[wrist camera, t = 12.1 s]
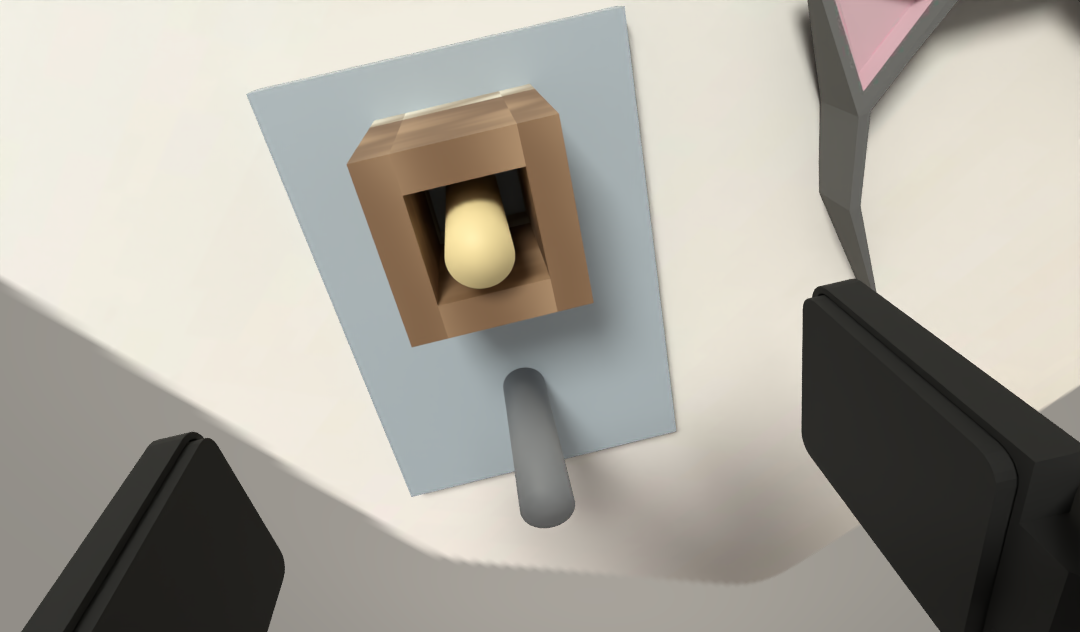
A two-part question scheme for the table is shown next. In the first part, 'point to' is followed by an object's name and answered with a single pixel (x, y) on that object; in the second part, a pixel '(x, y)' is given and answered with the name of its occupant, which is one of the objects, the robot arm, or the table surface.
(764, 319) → the table surface
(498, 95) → the sleeve
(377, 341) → the board
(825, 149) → the headband
